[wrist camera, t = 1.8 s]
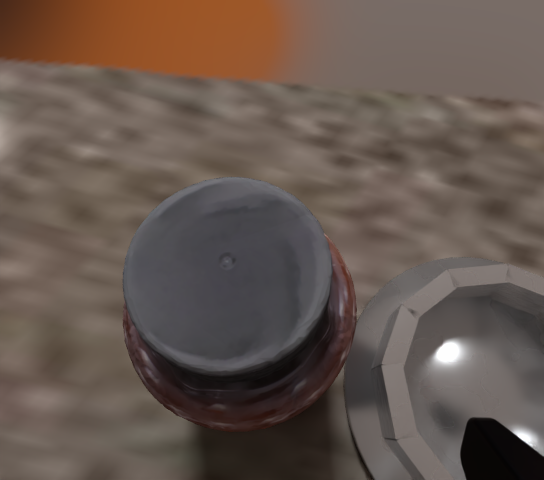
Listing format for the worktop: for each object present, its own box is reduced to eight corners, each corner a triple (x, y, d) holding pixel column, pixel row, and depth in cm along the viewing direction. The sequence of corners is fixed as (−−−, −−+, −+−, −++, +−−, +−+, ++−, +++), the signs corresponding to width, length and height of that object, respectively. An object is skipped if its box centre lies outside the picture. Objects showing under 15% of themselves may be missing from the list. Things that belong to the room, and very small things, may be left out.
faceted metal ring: (700, 430, 16) (769, 432, 14) (497, 656, 13) (542, 706, 11) (477, 217, 20) (502, 192, 18) (287, 357, 17) (289, 348, 15)
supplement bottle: (170, 324, 18) (28, 200, 8) (283, 267, 19) (289, 92, 9) (224, 454, 16) (125, 517, 6) (349, 381, 17) (456, 325, 7)
